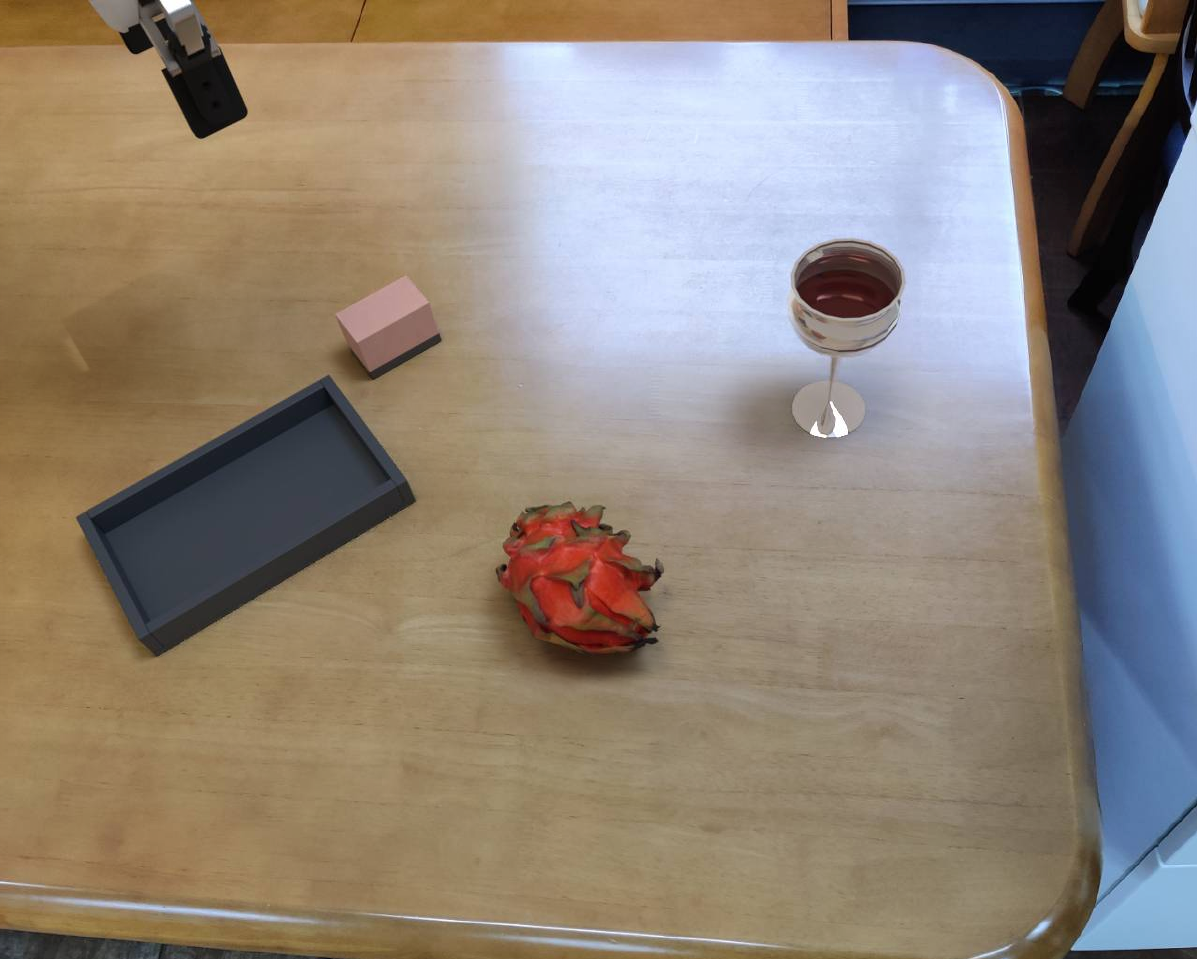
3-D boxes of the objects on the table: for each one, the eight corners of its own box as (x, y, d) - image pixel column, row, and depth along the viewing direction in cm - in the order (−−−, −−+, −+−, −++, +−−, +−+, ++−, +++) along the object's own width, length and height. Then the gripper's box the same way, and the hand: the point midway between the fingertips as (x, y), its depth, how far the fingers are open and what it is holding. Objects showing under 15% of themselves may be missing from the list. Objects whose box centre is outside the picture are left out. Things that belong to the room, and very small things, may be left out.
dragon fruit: (528, 552, 71) (655, 674, 68) (441, 588, 64) (576, 725, 61) (581, 456, 66) (720, 582, 63) (492, 484, 59) (643, 627, 56)
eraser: (372, 380, 78) (356, 342, 74) (351, 351, 79) (334, 313, 76) (442, 340, 79) (429, 302, 75) (419, 313, 80) (405, 274, 77)
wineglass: (760, 393, 74) (768, 263, 63) (846, 356, 74) (867, 222, 64) (809, 463, 70) (826, 338, 60) (898, 424, 71) (929, 294, 61)
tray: (156, 657, 68) (138, 639, 66) (93, 536, 73) (74, 516, 71) (416, 501, 72) (407, 480, 70) (339, 396, 77) (328, 374, 75)
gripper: (-123, -311, 48) (75, 40, 63) (-8, -169, 41) (187, 193, 56) (29, -368, 50) (188, -12, 65) (169, -241, 42) (312, 130, 57)
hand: (187, 82), depth 60 cm, fingers open, 9 cm apart
